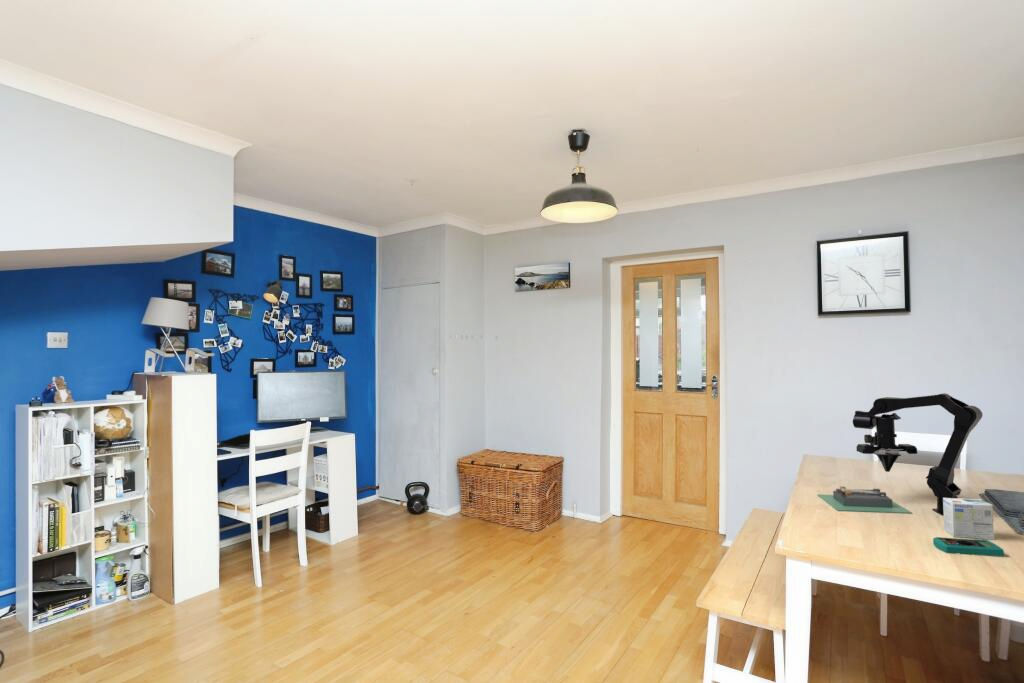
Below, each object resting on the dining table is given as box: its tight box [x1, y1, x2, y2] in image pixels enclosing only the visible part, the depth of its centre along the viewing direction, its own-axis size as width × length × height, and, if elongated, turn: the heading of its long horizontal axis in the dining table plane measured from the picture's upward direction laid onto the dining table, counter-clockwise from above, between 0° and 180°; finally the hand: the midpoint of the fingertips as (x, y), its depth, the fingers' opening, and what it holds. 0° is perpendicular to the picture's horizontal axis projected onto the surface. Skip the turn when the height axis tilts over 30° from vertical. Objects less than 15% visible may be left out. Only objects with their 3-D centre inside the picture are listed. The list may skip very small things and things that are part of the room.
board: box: [817, 493, 913, 515], centre depth 200 cm, size 20×24×1 cm
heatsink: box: [832, 486, 893, 508], centre depth 200 cm, size 10×16×5 cm, turn 79°
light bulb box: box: [943, 497, 995, 540], centre depth 167 cm, size 11×7×11 cm, turn 74°
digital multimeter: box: [932, 536, 1005, 557], centre depth 155 cm, size 7×15×3 cm, turn 75°
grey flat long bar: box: [841, 488, 879, 496], centre depth 200 cm, size 3×12×1 cm, turn 78°
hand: (887, 471), depth 202 cm, fingers closed
